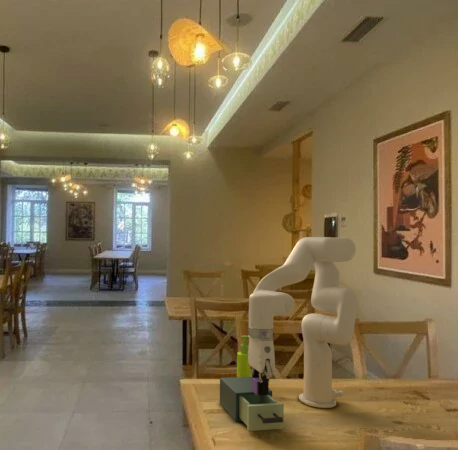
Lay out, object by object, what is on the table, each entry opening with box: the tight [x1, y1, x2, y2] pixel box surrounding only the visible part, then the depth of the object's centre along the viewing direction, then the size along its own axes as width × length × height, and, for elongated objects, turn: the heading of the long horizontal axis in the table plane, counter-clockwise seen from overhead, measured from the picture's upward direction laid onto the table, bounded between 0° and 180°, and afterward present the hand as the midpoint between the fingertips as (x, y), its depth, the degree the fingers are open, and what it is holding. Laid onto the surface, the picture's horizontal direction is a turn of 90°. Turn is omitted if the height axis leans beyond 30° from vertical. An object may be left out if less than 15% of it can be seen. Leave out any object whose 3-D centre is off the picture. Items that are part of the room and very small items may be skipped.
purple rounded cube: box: [251, 377, 270, 395], centre depth 130 cm, size 4×4×4 cm
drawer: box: [238, 394, 285, 432], centre depth 129 cm, size 18×11×7 cm, turn 12°
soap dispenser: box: [236, 335, 251, 377], centre depth 164 cm, size 6×7×20 cm
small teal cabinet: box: [219, 376, 273, 423], centre depth 140 cm, size 15×13×9 cm
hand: (259, 391), depth 129 cm, fingers closed on purple rounded cube, 4 cm apart
